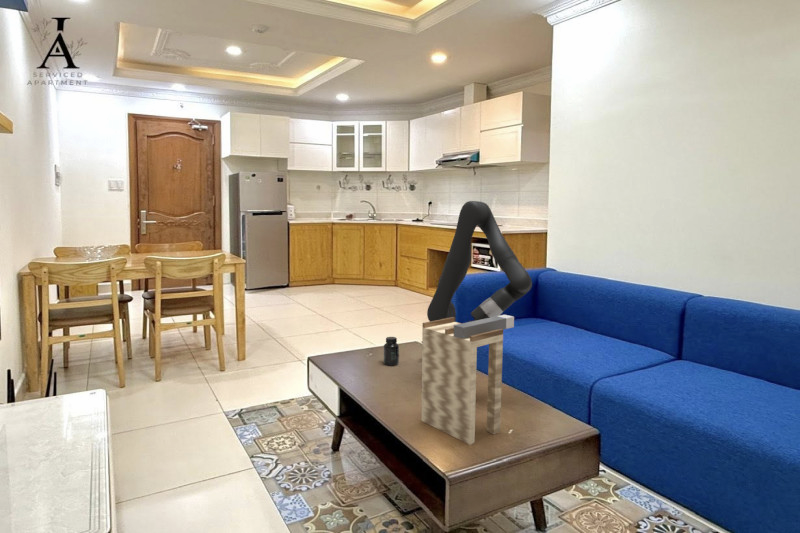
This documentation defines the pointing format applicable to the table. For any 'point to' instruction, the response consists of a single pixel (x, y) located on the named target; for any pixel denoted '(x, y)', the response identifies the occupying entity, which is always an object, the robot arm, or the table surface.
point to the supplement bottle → (391, 352)
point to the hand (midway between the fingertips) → (453, 342)
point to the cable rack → (458, 379)
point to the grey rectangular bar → (483, 326)
